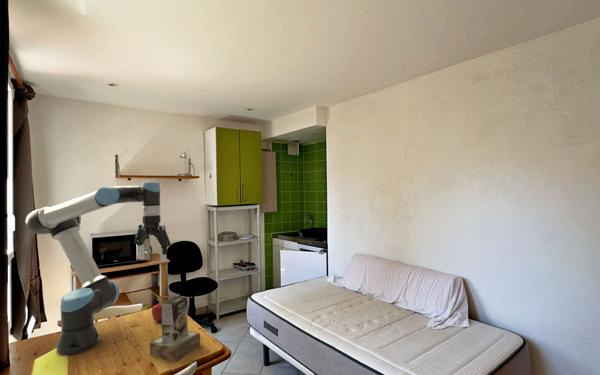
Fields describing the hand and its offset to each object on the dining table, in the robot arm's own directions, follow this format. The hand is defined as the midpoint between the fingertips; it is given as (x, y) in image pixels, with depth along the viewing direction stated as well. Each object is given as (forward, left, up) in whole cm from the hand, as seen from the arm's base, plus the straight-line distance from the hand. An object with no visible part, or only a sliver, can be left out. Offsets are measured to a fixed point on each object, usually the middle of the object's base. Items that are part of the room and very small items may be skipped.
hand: (152, 260), depth 148 cm
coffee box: (+20, -7, -30) cm, 36 cm away
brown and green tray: (+20, -7, -35) cm, 41 cm away
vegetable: (-8, +14, -35) cm, 38 cm away
